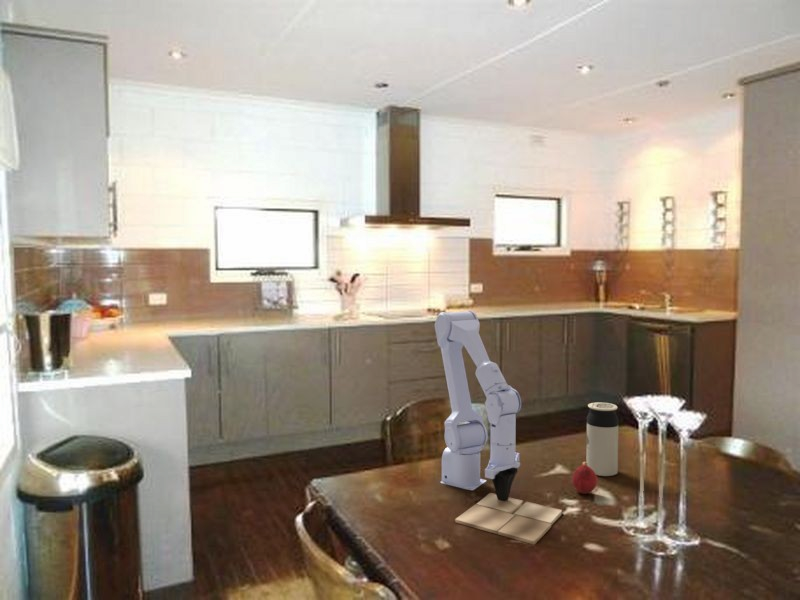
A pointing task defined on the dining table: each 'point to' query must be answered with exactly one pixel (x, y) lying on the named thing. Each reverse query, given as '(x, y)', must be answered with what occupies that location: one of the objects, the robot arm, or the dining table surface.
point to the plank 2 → (539, 512)
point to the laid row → (504, 524)
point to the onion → (584, 479)
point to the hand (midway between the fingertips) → (502, 499)
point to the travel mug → (602, 439)
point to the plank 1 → (500, 503)
